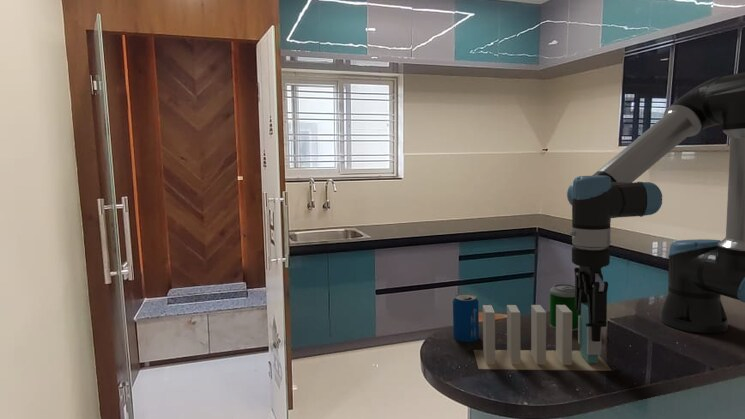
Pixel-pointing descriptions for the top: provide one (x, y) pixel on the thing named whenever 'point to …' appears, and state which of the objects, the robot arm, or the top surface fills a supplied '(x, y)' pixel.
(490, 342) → the tile
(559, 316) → the tile
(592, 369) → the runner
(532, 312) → the tile
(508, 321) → the tile
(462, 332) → the beverage can
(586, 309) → the head tile
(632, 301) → the top surface
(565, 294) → the soda can
